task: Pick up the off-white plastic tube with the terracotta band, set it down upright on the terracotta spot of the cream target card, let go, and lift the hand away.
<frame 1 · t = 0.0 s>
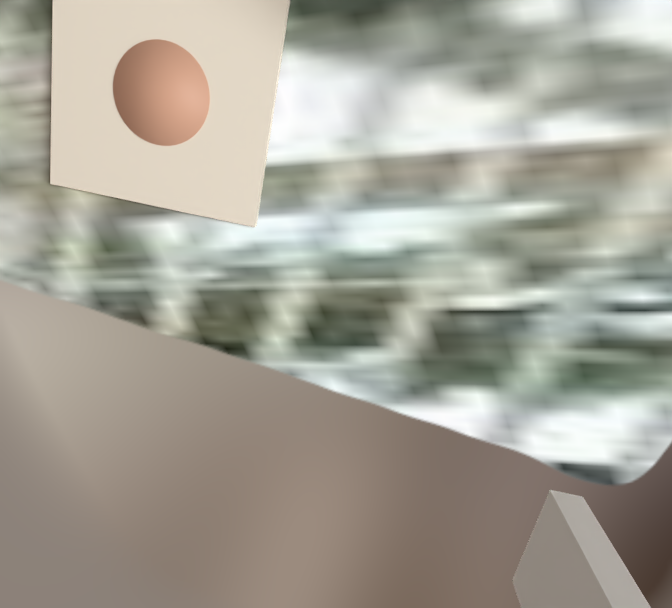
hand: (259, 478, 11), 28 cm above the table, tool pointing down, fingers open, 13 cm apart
target card: (164, 95, 35), on the table
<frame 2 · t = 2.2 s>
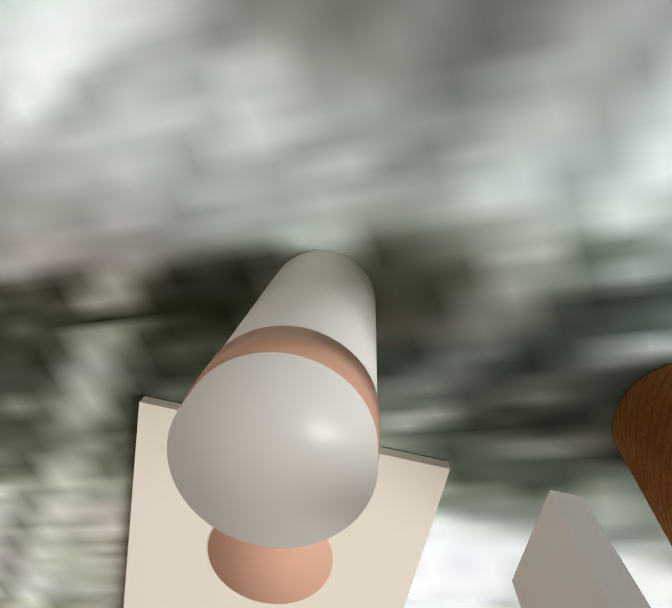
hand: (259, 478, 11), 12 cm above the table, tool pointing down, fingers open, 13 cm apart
plastic tube: (321, 302, 23), on the table
target card: (272, 547, 28), on the table
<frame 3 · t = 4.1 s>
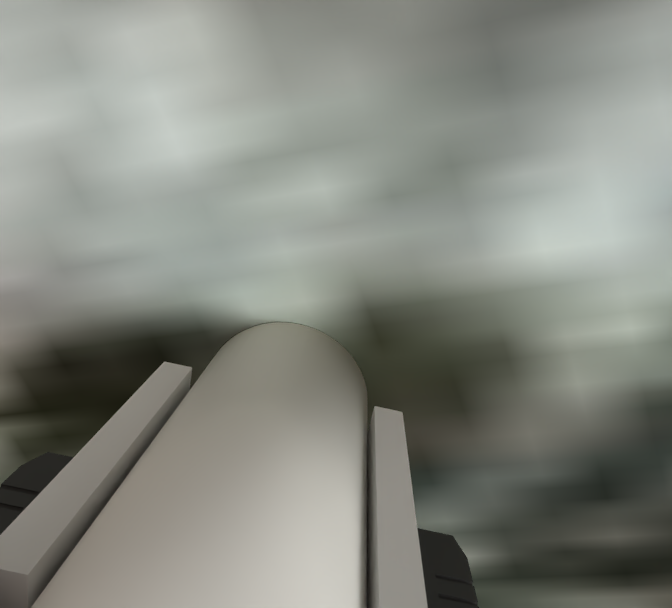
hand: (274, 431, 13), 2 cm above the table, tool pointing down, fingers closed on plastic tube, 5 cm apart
plastic tube: (285, 399, 15), on the table, touching gripper
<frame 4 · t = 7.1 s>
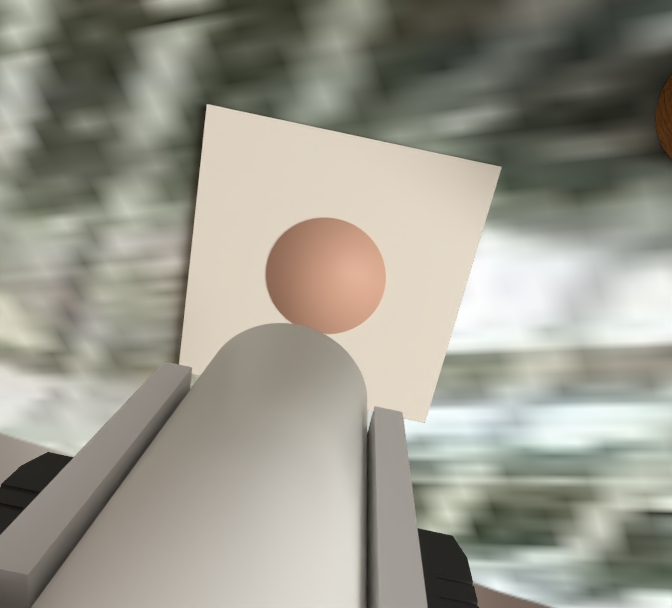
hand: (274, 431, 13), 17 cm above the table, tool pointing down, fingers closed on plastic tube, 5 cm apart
plastic tube: (285, 400, 15), point 15 cm above the table, touching gripper
target card: (326, 275, 29), on the table
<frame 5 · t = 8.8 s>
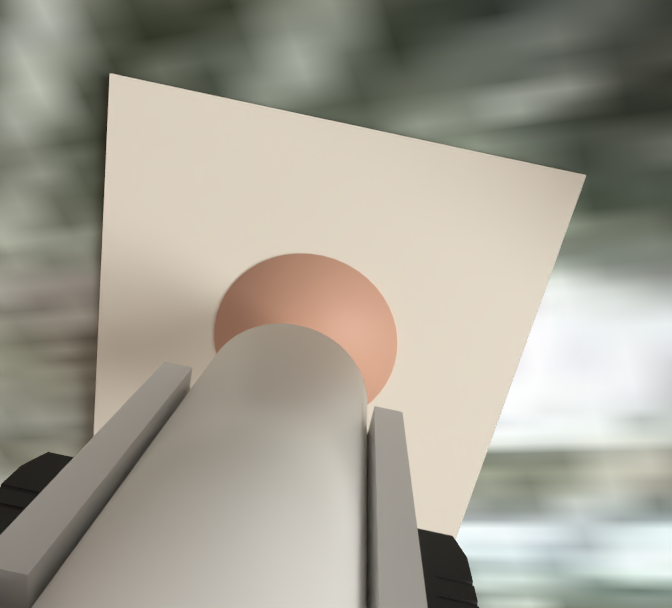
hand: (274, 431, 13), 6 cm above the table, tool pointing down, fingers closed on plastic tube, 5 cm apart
plastic tube: (285, 400, 15), point 5 cm above the table, touching gripper
target card: (306, 337, 19), on the table
when the fingers open (3 cm above the table, at t = 10.2 s): plastic tube stays where it is, resting on target card.
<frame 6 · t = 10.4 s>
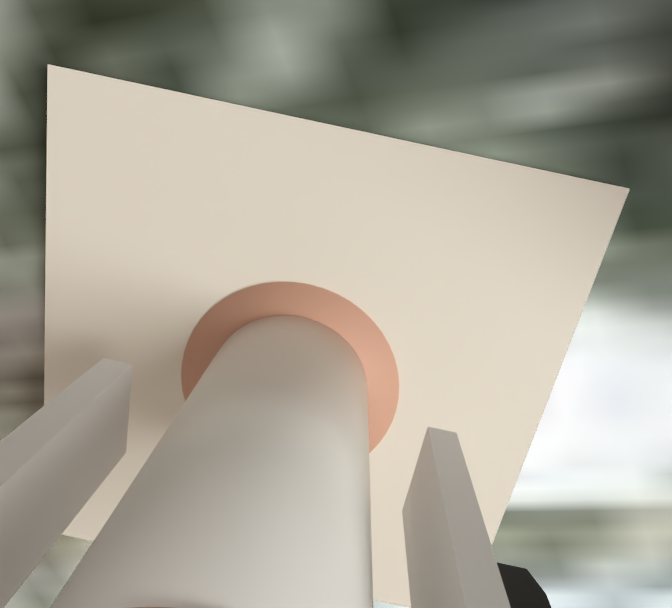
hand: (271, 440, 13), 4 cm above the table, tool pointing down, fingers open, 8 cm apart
plastic tube: (288, 388, 15), point 1 cm above the table, touching target card
target card: (292, 378, 16), on the table
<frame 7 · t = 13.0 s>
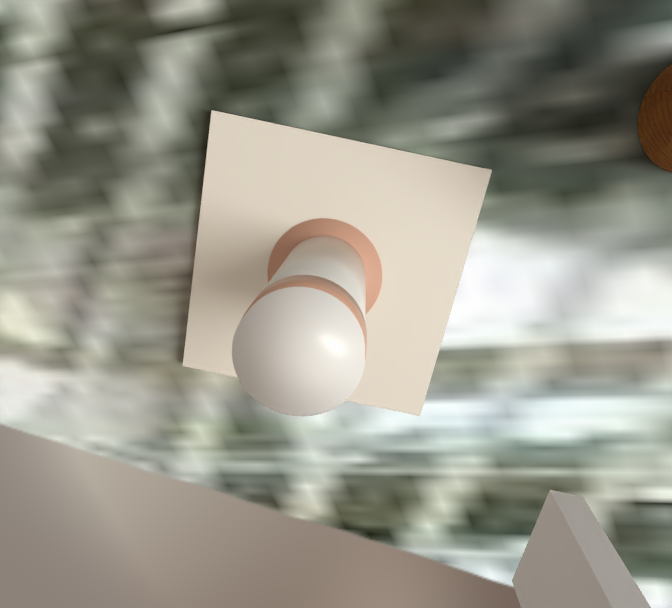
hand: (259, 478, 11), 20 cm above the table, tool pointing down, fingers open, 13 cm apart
plastic tube: (324, 276, 29), point 1 cm above the table, touching target card
target card: (325, 273, 30), on the table
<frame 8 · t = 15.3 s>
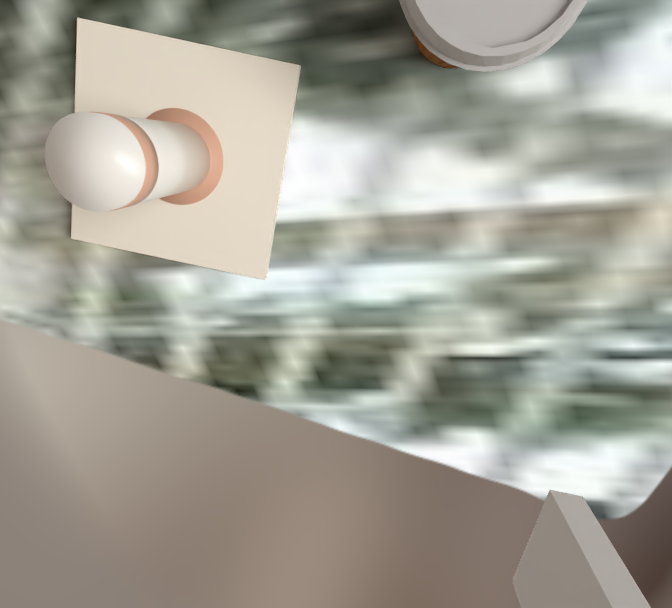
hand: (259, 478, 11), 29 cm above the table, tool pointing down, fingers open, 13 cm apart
plastic tube: (177, 157, 37), point 1 cm above the table, touching target card
target card: (180, 157, 37), on the table
disposable coffee cup: (456, 18, 33), on the table
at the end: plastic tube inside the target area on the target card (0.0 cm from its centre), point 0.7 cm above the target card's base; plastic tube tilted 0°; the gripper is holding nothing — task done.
